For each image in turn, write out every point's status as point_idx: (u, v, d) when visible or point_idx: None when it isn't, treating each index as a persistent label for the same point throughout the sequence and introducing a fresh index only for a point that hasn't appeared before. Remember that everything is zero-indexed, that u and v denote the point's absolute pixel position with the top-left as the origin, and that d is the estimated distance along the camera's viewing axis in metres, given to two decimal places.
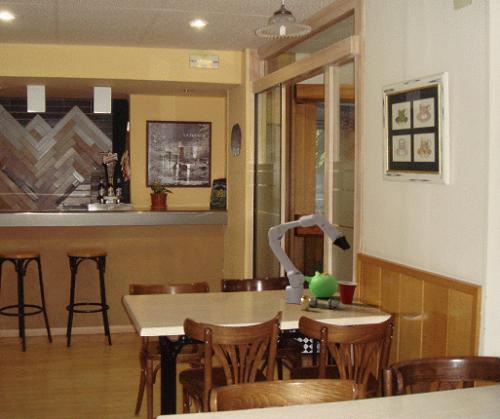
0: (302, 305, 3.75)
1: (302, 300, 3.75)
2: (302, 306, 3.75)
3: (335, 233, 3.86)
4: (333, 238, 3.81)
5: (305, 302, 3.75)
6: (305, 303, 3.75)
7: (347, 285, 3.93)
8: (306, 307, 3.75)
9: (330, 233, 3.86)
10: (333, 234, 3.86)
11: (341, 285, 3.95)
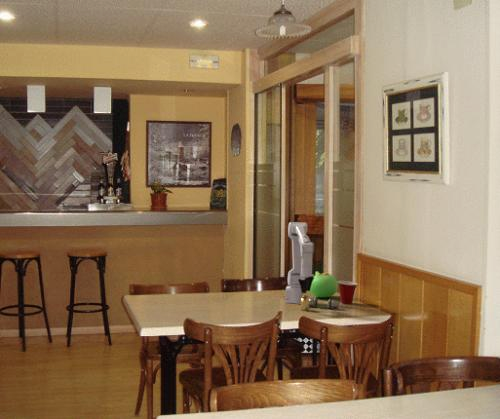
0: (302, 305, 3.75)
1: (302, 300, 3.75)
2: (302, 306, 3.75)
3: (308, 273, 3.73)
4: (302, 277, 3.69)
5: (305, 302, 3.75)
6: (305, 303, 3.75)
7: (347, 285, 3.93)
8: (306, 307, 3.75)
9: (304, 269, 3.73)
10: (305, 272, 3.73)
11: (341, 285, 3.95)
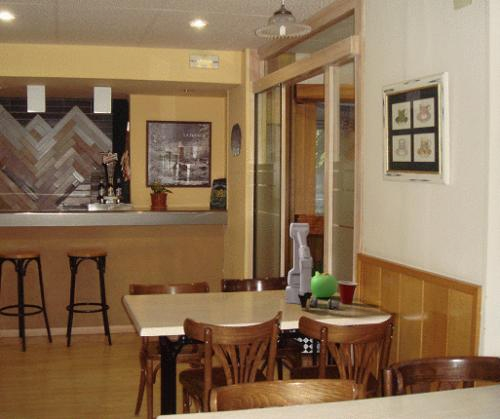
0: None
1: None
2: None
3: (307, 288, 3.74)
4: (301, 293, 3.70)
5: None
6: None
7: (347, 285, 3.93)
8: (306, 307, 3.75)
9: (303, 284, 3.74)
10: (304, 287, 3.74)
11: (341, 285, 3.95)
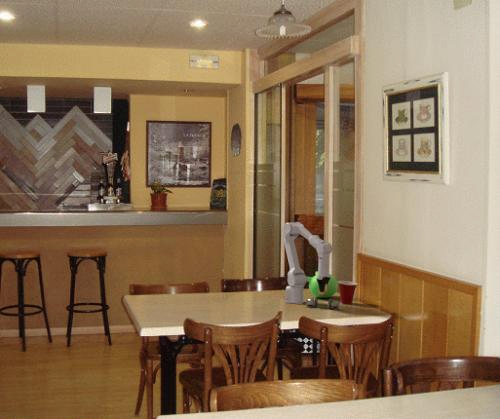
0: None
1: None
2: None
3: (325, 273, 3.80)
4: (320, 277, 3.76)
5: None
6: None
7: (347, 285, 3.93)
8: (324, 292, 3.82)
9: (321, 269, 3.80)
10: (323, 272, 3.80)
11: (341, 285, 3.95)
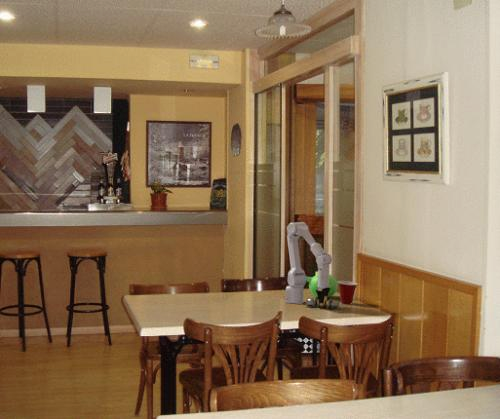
0: None
1: None
2: (320, 303, 3.82)
3: (325, 284, 3.81)
4: (319, 288, 3.77)
5: None
6: None
7: (347, 285, 3.93)
8: (324, 304, 3.82)
9: (321, 280, 3.81)
10: (322, 283, 3.81)
11: (341, 285, 3.95)
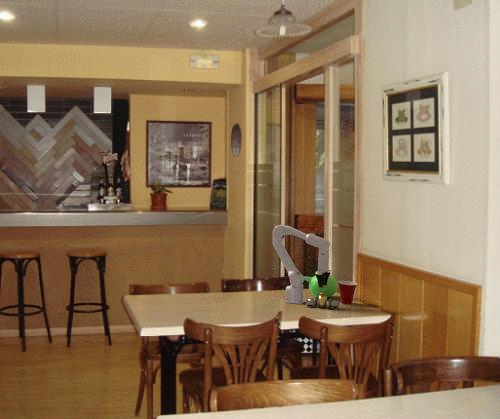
0: (320, 302, 3.82)
1: (320, 297, 3.82)
2: (320, 303, 3.82)
3: (324, 268, 3.91)
4: (319, 272, 3.87)
5: (323, 299, 3.82)
6: (323, 301, 3.82)
7: (347, 285, 3.93)
8: (324, 304, 3.82)
9: (321, 264, 3.91)
10: (322, 267, 3.91)
11: (341, 285, 3.95)
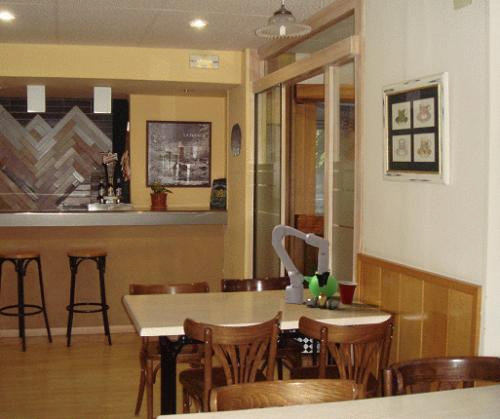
0: (320, 302, 3.82)
1: (320, 297, 3.82)
2: (320, 303, 3.82)
3: (325, 268, 3.92)
4: (319, 272, 3.88)
5: (323, 299, 3.81)
6: (323, 301, 3.82)
7: (347, 285, 3.93)
8: (324, 304, 3.82)
9: (321, 264, 3.92)
10: (322, 267, 3.91)
11: (341, 285, 3.95)
